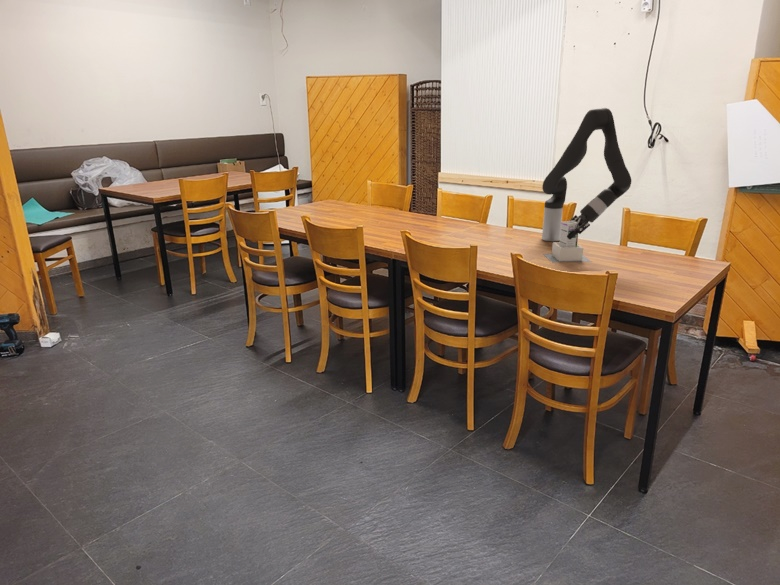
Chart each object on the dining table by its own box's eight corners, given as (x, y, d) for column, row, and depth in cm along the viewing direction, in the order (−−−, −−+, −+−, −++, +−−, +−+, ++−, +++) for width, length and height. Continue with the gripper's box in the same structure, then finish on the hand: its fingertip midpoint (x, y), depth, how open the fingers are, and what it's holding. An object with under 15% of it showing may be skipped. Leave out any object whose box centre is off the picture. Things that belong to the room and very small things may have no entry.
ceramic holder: (551, 254, 256) (552, 242, 254) (573, 254, 257) (574, 241, 255) (559, 261, 246) (560, 248, 244) (582, 260, 247) (583, 247, 245)
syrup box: (565, 255, 247) (568, 223, 243) (558, 251, 253) (561, 220, 248) (576, 253, 249) (579, 222, 244) (569, 250, 254) (572, 219, 249)
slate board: (542, 257, 258) (542, 254, 258) (579, 256, 259) (580, 253, 259) (552, 265, 245) (552, 262, 245) (591, 264, 246) (591, 261, 245)
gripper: (582, 201, 250) (554, 227, 254) (595, 206, 237) (565, 234, 240) (592, 212, 252) (565, 237, 256) (605, 218, 239) (576, 245, 242)
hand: (565, 236), depth 248 cm, fingers closed on syrup box, 6 cm apart
